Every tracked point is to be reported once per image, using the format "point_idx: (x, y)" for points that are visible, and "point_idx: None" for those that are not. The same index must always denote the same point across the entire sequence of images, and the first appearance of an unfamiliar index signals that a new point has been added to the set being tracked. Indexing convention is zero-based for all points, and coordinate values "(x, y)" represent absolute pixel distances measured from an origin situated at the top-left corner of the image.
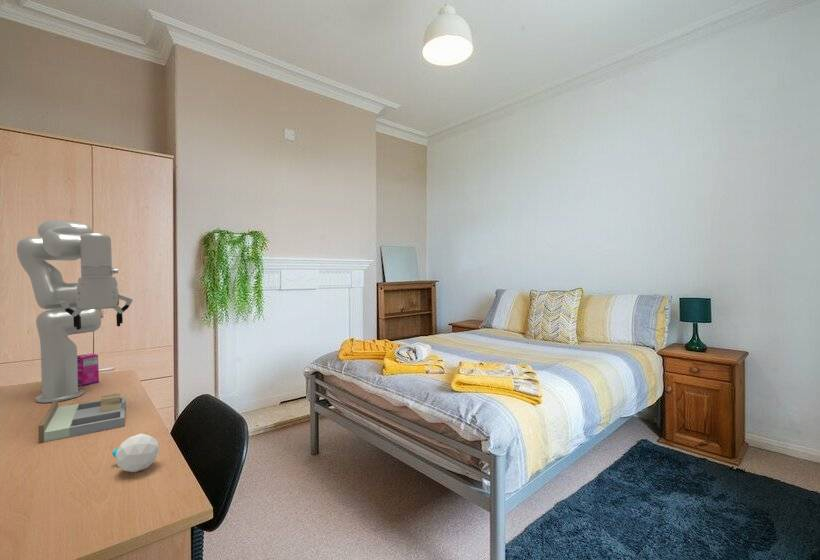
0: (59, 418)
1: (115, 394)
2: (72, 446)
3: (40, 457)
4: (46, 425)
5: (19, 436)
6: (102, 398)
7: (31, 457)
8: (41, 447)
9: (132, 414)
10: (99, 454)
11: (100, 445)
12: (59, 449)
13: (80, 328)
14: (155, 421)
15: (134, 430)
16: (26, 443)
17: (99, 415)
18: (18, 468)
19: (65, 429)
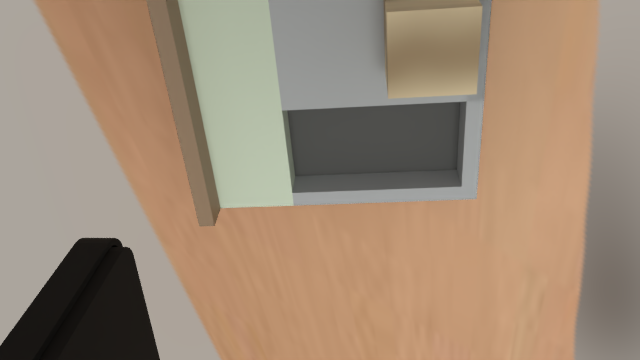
0: (220, 58)
1: (457, 37)
2: (324, 268)
3: (259, 299)
4: (208, 165)
5: (112, 79)
6: (394, 85)
7: (235, 287)
8: (236, 230)
9: (511, 38)
10: (402, 352)
11: (400, 301)
12: (293, 271)
13: (146, 312)
14: (579, 188)
15: (498, 237)
16: (173, 170)
17: (381, 103)
18: (230, 334)
19: (283, 204)
